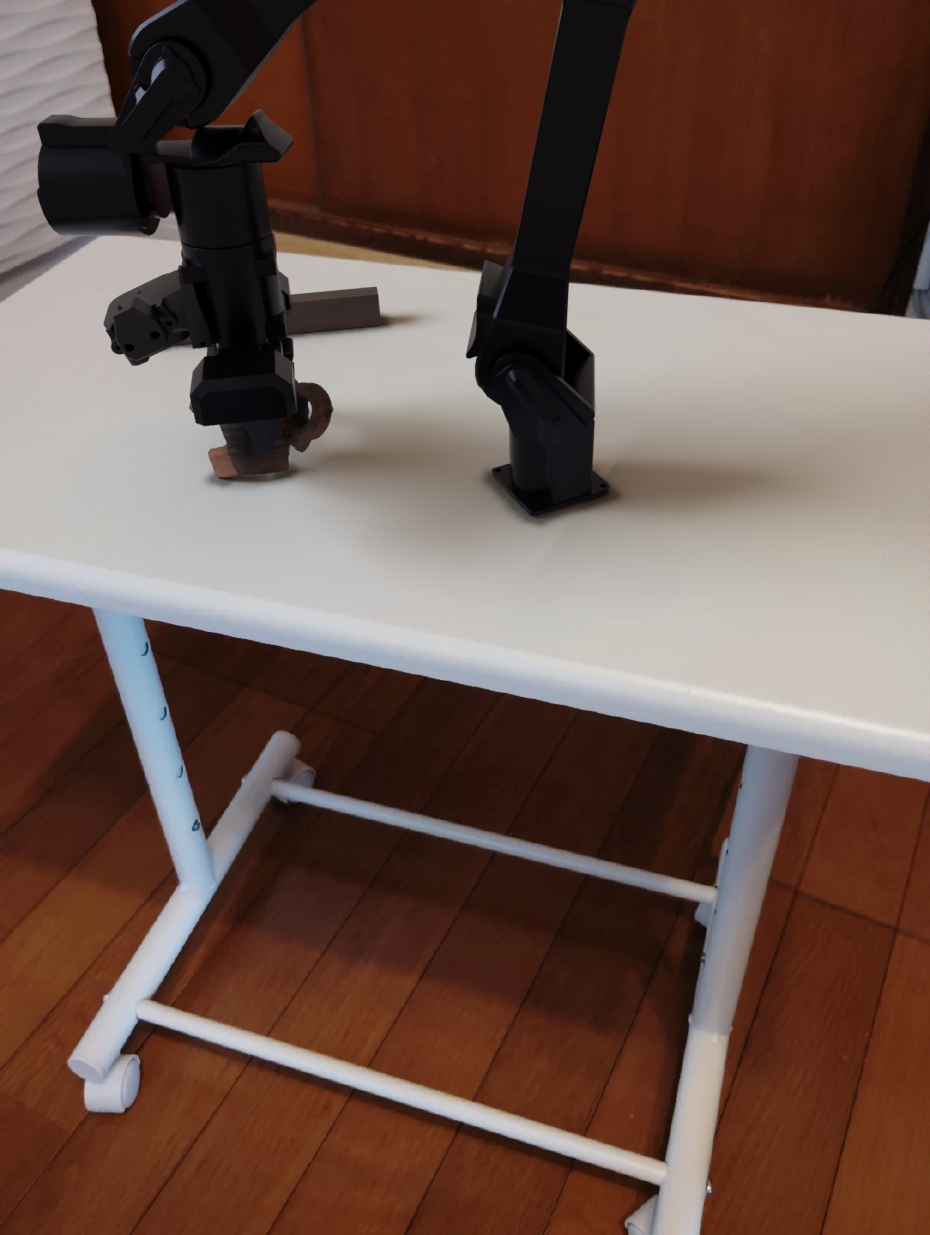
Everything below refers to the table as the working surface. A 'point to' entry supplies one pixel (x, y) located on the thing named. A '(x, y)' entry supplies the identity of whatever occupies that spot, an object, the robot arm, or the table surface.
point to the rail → (332, 310)
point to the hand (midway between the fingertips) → (265, 451)
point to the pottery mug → (293, 431)
